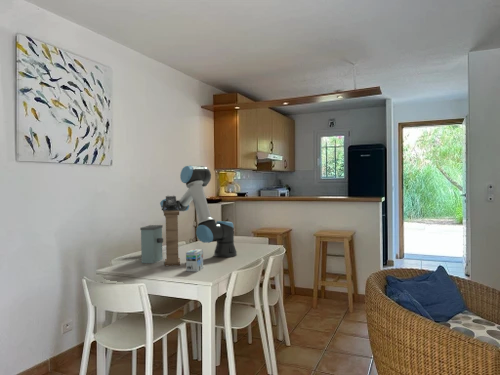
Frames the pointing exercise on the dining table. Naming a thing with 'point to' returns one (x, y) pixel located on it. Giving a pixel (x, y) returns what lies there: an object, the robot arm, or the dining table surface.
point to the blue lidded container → (151, 243)
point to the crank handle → (170, 200)
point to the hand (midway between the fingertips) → (170, 196)
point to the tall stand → (172, 238)
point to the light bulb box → (194, 260)
